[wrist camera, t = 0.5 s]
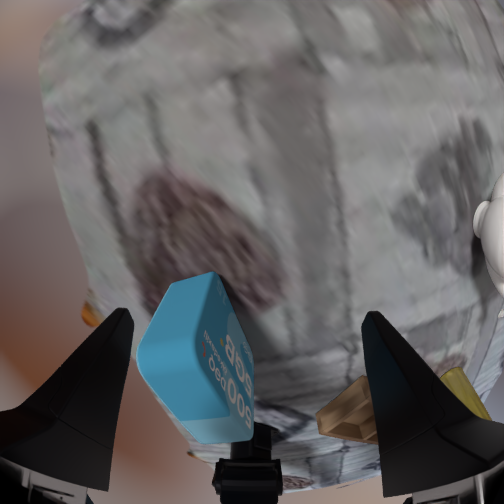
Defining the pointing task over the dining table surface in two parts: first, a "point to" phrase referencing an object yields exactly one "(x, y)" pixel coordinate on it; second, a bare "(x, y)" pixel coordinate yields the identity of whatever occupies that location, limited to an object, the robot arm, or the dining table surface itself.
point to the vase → (464, 391)
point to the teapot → (493, 234)
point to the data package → (200, 361)
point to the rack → (350, 415)
